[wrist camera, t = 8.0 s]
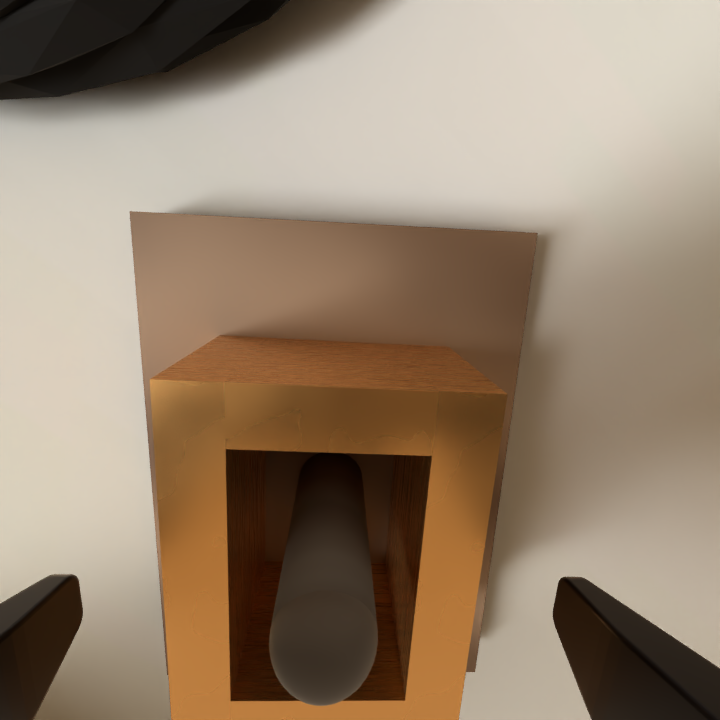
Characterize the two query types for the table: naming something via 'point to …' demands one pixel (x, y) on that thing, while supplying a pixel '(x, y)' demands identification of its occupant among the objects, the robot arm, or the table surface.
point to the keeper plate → (330, 323)
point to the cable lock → (111, 39)
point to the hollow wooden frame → (248, 514)
